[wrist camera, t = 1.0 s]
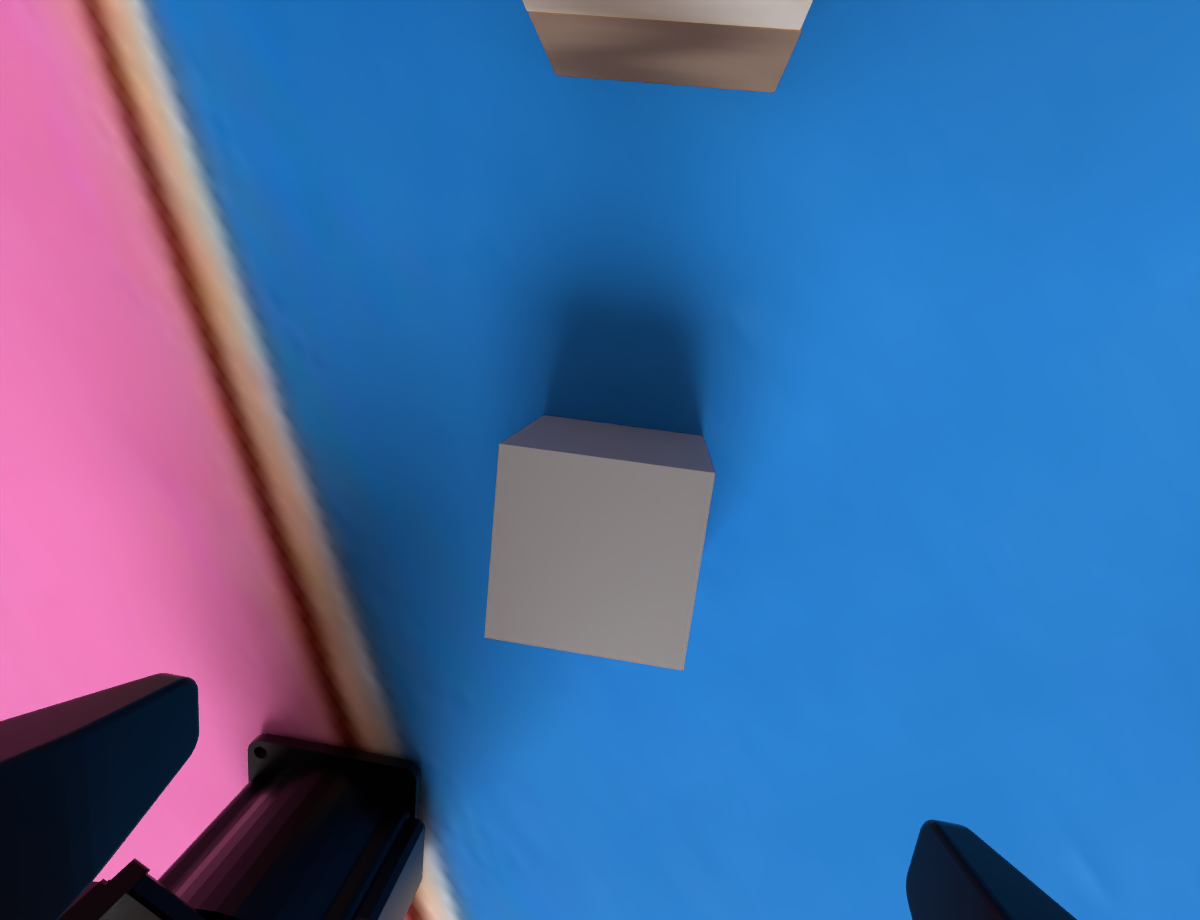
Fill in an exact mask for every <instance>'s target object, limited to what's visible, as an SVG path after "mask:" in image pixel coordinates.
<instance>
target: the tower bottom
mask: <svg viewBox="0 0 1200 920" xmlns="http://www.w3.org/2000/svg"><path fill="white" fill-rule="evenodd" d="M528 13H529V15H530V18H531V20H532V22H533V24H534V27H535V29H536V31H537V34H538V36H539V38H540V40H541V43H542V45H543V47H544V49H545V52H546V54H547V56H548V58H549V61H550V63H551V65H552V68H553V70H554V72H555V74H556V76H569V77H581V78H594V79H607V80H620V81H632V82H645V83H658V84H671V85H683V86H696V87H709V88H722V89H734V90H747V91H760V92H773V93H775V90H776V88H777V86H778V83H779V81H780V79H781V77H782V74H783V72H784V70H785V68H786V65H787V63H788V61H789V59H790V56H791V54H792V52H793V49H794V47H795V45H796V43H797V40H798V38H799V36H800V34H801V31H802V27H801V29H800V30H792V29H778V28H763V27H749V26H735V25H720V24H706V23H692V22H677V21H663V20H649V19H634V18H620V17H606V16H591V15H577V14H563V13H548V12H534V11H528Z"/></svg>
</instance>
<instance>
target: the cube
mask: <svg viewBox="0 0 1200 920" xmlns="http://www.w3.org/2000/svg"><path fill="white" fill-rule="evenodd" d="M714 478H715V471H714V468H713V465H712V461H711V458H710V455H709V452H708V449H707V446H706V443H705V440H704V437H703V436H700V435H692V434H685V433H677V432H669V431H662V430H654V429H646V428H639V427H631V426H624V425H616V424H608V423H601V422H593V421H585V420H578V419H570V418H562V417H555V416H547V415H543V416H541V417H540V418H538V419H536V420H535V421H533V422H532V423H530V424H529V425H527V426H526V427H524V428H523V429H521V430H519V431H518V432H516V433H515V434H513V435H512V436H510V437H509V438H507V439H506V440H504V441H503V442H501V443H499V453H498V466H497V479H496V492H495V505H494V518H493V531H492V545H491V558H490V571H489V584H488V597H487V610H486V623H485V637H484V638H490V639H496V640H502V641H508V642H514V643H520V644H526V645H532V646H538V647H544V648H550V649H556V650H562V651H568V652H574V653H580V654H586V655H592V656H598V657H604V658H610V659H616V660H622V661H628V662H634V663H640V664H646V665H652V666H658V667H664V668H670V669H676V670H682V671H683V670H684V663H685V657H686V651H687V645H688V639H689V632H690V626H691V620H692V614H693V608H694V602H695V595H696V589H697V583H698V577H699V571H700V564H701V558H702V552H703V546H704V540H705V534H706V527H707V521H708V515H709V509H710V503H711V497H712V490H713V484H714Z"/></svg>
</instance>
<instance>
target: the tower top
mask: <svg viewBox="0 0 1200 920" xmlns="http://www.w3.org/2000/svg"><path fill="white" fill-rule="evenodd" d="M522 1H523V3H524V5H525V7H526V10H527V11H534V12H548V13H563V14H577V15H591V16H606V17H620V18H634V19H649V20H663V21H677V22H692V23H706V24H720V25H735V26H749V27H763V28H778V29H792V30H800V29H801V27H802V25H803V22H804V20H805V18H806V15H807V13H808V11H809V8H810V6H811V4H812V2H813V0H522Z"/></svg>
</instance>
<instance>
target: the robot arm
mask: <svg viewBox="0 0 1200 920" xmlns="http://www.w3.org/2000/svg"><path fill="white" fill-rule="evenodd" d="M198 737H199V707H198V686H197V684H196V682H195V681H194V680H193V679H191V678H189V677H184V676H179V675H173V674H168V673H159V674H155V675H152V676H148V677H145V678H142V679H138V680H135V681H132V682H128V683H125V684H122V685H119V686H115V687H112V688H109V689H105V690H102V691H99V692H96V693H92V694H89V695H86V696H82V697H79V698H76V699H72V700H69V701H66V702H63V703H59V704H56V705H53V706H49V707H46V708H43V709H40V710H36V711H33V712H30V713H26V714H23V715H20V716H16V717H13V718H10V719H7V720H3V721H0V920H404V917H405V915H406V913H407V911H408V909H409V908H410V906H411V904H412V901H413V899H414V896H415V893H416V891H417V889H418V887H419V884H420V882H421V880H422V870H423V851H424V833H425V826H424V824H423V822H422V819H419V806H420V787H421V770H420V768H419V767H418V765H417V764H415V763H414V762H412V761H409V760H405V759H400V758H394V757H389V756H384V755H378V754H373V753H368V752H362V751H357V750H352V749H346V748H341V747H336V746H330V745H325V744H320V743H314V742H309V741H304V740H298V739H293V738H288V737H282V736H277V735H272V734H261V735H259V736H258V737H257V738H256V739H255V740H254V741H253V742H252V743H251V744H250V745H249V747H248V775H249V783H248V784H247V785H246V786H245V787H244V788H243V790H242V791H241V792H240V793H239V794H238V795H237V796H236V797H235V798H234V799H233V800H232V801H231V802H230V803H229V805H228V806H227V807H226V808H225V809H224V810H223V811H222V812H221V813H220V814H219V815H218V816H217V817H216V818H215V819H214V821H213V822H212V823H211V824H210V825H209V826H208V827H207V828H206V829H205V830H204V831H203V832H202V833H201V834H200V835H199V837H198V838H197V839H196V840H195V841H194V842H193V843H192V844H191V845H190V846H189V847H188V848H187V849H186V850H185V852H184V853H183V854H182V855H181V856H180V857H179V858H178V859H177V860H176V861H175V862H174V863H173V864H172V865H171V866H170V868H169V869H168V870H167V871H166V872H165V873H164V874H163V875H162V876H161V877H160V878H159V879H158V880H156V879H154V878H153V877H152V876H150V875H149V874H148V872H149V870H150V869H148V868H147V867H146V866H145V865H143V864H142V863H141V862H139V861H138V860H137V859H133V860H132V861H131V862H130V863H129V864H128V865H127V866H126V867H125V868H124V869H122V870H121V871H120V872H119V873H118V874H117V875H116V876H115V877H114V878H113V879H111V880H108V881H106V880H104V879H102V880H101V881H100V882H92V881H93V880H94V879H95V877H96V876H97V875H98V874H99V872H100V871H101V870H102V869H103V867H104V866H105V865H106V864H107V862H108V861H109V860H110V859H111V858H112V856H113V855H114V854H115V852H116V851H117V850H118V849H119V847H120V846H121V845H122V843H123V842H124V841H125V840H126V838H127V837H128V836H129V834H130V833H131V832H132V831H133V829H134V828H135V827H136V825H137V824H138V823H139V822H140V820H141V819H142V818H143V816H144V815H145V814H146V813H147V811H148V810H149V809H150V807H151V806H152V805H153V803H154V802H155V801H156V800H157V798H158V797H159V796H160V794H161V793H162V792H163V791H164V789H165V788H166V787H167V785H168V784H169V783H170V782H171V780H172V779H173V778H174V776H175V775H176V774H177V773H178V771H179V770H180V769H181V767H182V766H183V765H184V764H185V762H186V761H187V760H188V758H189V757H190V755H191V754H192V752H193V750H194V749H195V746H196V744H197V741H198ZM262 747H263V748H264V749H265V750H264V749H263V748H262ZM403 774H405V775H407V776H408V777H409V778H407V777H405V776H404V775H403ZM906 893H907V900H908V904H909V908H910V912H911V916H912V920H1077V919H1076V918H1074V917H1073V916H1072V915H1071V914H1070V913H1069V912H1067V911H1066V910H1065V909H1064V908H1063V907H1061V906H1060V905H1059V904H1058V903H1057V902H1055V901H1054V900H1053V899H1052V898H1051V897H1049V896H1048V895H1047V894H1046V893H1045V892H1044V891H1042V890H1041V889H1040V888H1039V887H1038V886H1036V885H1035V884H1034V883H1033V882H1032V881H1030V880H1029V879H1028V878H1027V877H1026V876H1024V875H1023V874H1022V873H1021V872H1020V871H1019V870H1017V869H1016V868H1015V867H1014V866H1013V865H1011V864H1010V863H1009V862H1008V861H1007V860H1005V859H1004V858H1003V857H1002V856H1001V855H1000V854H998V853H997V852H996V851H995V850H994V849H992V848H991V847H990V846H989V845H988V844H986V843H985V842H984V841H983V840H982V839H980V838H979V837H978V836H977V835H976V834H975V833H973V832H972V831H971V830H970V829H968V828H967V827H965V826H962V825H959V824H954V823H948V822H943V821H938V820H928V821H926V822H925V823H924V824H923V825H922V827H921V830H920V833H919V836H918V839H917V843H916V846H915V850H914V853H913V856H912V860H911V863H910V866H909V870H908V873H907V879H906Z"/></svg>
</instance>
